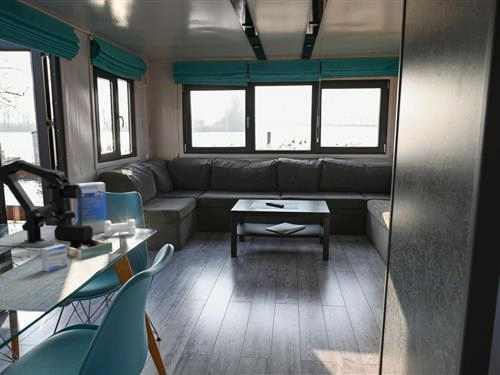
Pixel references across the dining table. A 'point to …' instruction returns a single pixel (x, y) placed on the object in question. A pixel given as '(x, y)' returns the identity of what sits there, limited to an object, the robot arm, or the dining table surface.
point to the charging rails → (89, 249)
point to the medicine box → (54, 257)
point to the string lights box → (92, 206)
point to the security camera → (75, 235)
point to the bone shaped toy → (119, 227)
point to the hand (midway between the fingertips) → (59, 230)
